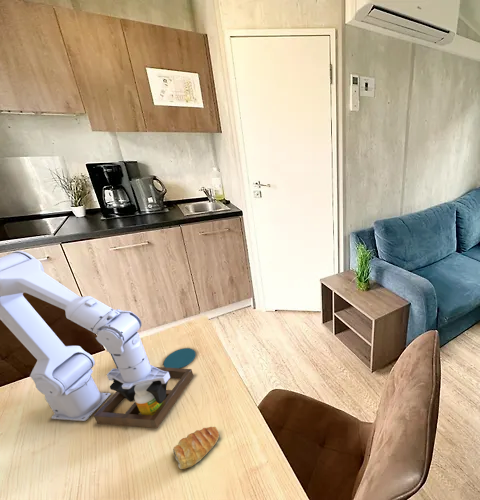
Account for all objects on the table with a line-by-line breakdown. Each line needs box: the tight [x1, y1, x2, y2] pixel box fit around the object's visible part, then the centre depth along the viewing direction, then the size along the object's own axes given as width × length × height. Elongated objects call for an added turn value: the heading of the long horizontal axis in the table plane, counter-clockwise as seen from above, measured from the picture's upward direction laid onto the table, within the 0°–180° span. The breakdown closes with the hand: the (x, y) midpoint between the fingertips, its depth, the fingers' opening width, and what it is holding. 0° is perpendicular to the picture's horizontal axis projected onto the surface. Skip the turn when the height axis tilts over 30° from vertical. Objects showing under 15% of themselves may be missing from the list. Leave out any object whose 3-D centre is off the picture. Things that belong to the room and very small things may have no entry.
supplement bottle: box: [134, 382, 164, 416], centre depth 73 cm, size 5×5×10 cm
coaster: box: [163, 347, 196, 369], centre depth 92 cm, size 9×9×1 cm
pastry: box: [172, 426, 220, 470], centre depth 66 cm, size 9×7×4 cm
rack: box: [92, 366, 194, 429], centre depth 78 cm, size 16×16×3 cm
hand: (148, 399), depth 73 cm, fingers open, 7 cm apart
